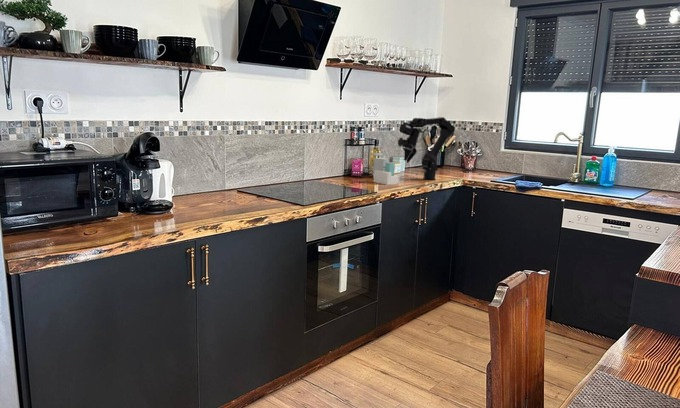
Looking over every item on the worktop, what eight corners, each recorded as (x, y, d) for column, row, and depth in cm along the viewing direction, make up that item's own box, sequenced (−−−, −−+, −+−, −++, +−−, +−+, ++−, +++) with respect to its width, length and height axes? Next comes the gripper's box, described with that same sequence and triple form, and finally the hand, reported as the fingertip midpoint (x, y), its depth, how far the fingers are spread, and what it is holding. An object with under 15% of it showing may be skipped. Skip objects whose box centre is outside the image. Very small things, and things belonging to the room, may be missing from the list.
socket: (385, 181, 313) (386, 169, 312) (399, 183, 304) (400, 172, 303) (373, 182, 307) (374, 170, 306) (387, 184, 298) (387, 172, 297)
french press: (373, 173, 350) (375, 137, 345) (388, 175, 343) (390, 138, 339) (365, 174, 342) (367, 137, 337) (380, 176, 335) (382, 138, 331)
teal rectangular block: (389, 182, 310) (390, 162, 308) (393, 182, 307) (394, 163, 304) (382, 182, 306) (383, 162, 304) (386, 183, 303) (388, 163, 301)
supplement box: (382, 178, 324) (383, 159, 321) (372, 177, 328) (373, 158, 326) (388, 177, 330) (389, 158, 327) (378, 176, 334) (379, 157, 332)
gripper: (403, 137, 327) (396, 160, 328) (398, 131, 309) (391, 156, 310) (420, 141, 324) (413, 165, 324) (415, 135, 306) (408, 160, 306)
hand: (406, 161), depth 316 cm, fingers open, 9 cm apart
